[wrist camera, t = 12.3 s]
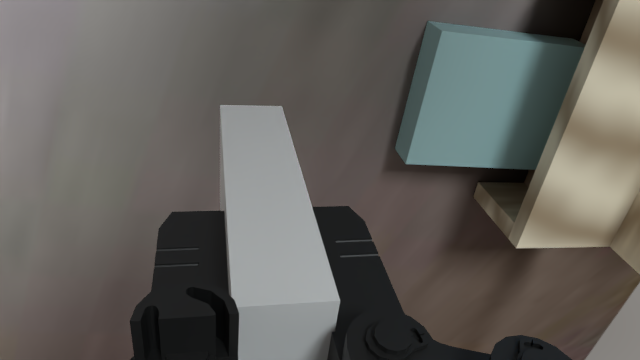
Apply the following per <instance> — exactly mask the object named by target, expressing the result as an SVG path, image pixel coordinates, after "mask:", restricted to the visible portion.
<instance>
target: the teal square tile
mask: <svg viewBox="0 0 640 360" xmlns="http://www.w3.org/2000/svg"><path fill="white" fill-rule="evenodd" d="M585 46H586V45H585V44H583V43H581V42H579V41H577V40H575V39H572V38H563V37H555V36H547V35H539V34H530V33H522V32H514V31H506V30H497V29H489V28H481V27H473V26H464V25H456V24H448V23H440V22H431V21H428V22H427V25H426V29H425V33H424V37H423V41H422V45H421V49H420V53H419V57H418V60H417V64H416V68H415V72H414V76H413V80H412V84H411V88H410V92H409V95H408V99H407V103H406V107H405V111H404V115H403V119H402V123H401V127H400V130H399V134H398V138H397V142H396V146H395V149H396V151H397V152H398V154H399V155H400V157H401V158H402V160H403V161H404V162H405V164H414V165H437V166H459V167H482V168H505V169H528V170H536V168H537V165H538V163H539V160H540V158H541V155H542V153H543V150H544V148H545V145H546V143H547V140H548V138H549V135H550V133H551V130H552V128H553V125H554V123H555V120H556V118H557V115H558V113H559V110H560V108H561V105H562V103H563V100H564V98H565V95H566V93H567V90H568V88H569V85H570V83H571V81H572V78H573V76H574V73H575V71H576V68H577V66H578V63H579V61H580V58H581V56H582V53H583V51H584V48H585Z"/></svg>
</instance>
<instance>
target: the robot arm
mask: <svg viewBox="0 0 640 360" xmlns="http://www.w3.org/2000/svg"><path fill="white" fill-rule="evenodd" d="M130 326H131V334H132V342H133V349H134V356H133V357H132V358H131V360H572V359H570V358H569V357H568V356H567V355H565V354H564V353H563V352H562V351H560V350H559V349H558V348H556V347H555V346H553V345H551V344H549V343H547V342H544V341H542V340H540V339H538V338H533V337H528V336H523V335H518V336H510V337H505V338H504V339H502V340H501V341H499V342H498V343H496V344H495V346H494V349H493V351H492V353H491V354H486V353H481V352H476V351H471V350H466V349H461V348H456V347H452V346H448V345H445V344H441V343H439V342H437V341H435V340H433V339H432V337H431V336H430V335H429V333H428V332H427V330H426V329H425V327H424V326H422V325H421V324H420V323H418V322H417V321H416V320H414V319H413V318H411V317H410V316H407V315H405V314H404V312H403V310H402V308H401V305H400V303H399V301H398V298H397V296H396V294H395V291H394V289H393V287H392V284H391V282H390V280H389V277H388V275H387V273H386V270H385V268H384V266H383V263H382V261H381V259H380V256H379V257H378V252H377V249H376V247H375V245H374V242H372V238H371V235H370V233H369V231H368V228H367V226H366V224H365V221H364V220H363V219H362V218H361V217H359V216H358V215H357V214H356V213H355V212H354V211H353V210H352V209H351V208H350V207H349V206H336V207H312V205H311V201H310V198H309V195H308V191H307V188H306V185H305V181H304V178H303V175H302V171H301V168H300V165H299V161H298V158H297V155H296V151H295V148H294V145H293V141H292V138H291V135H290V131H289V128H288V125H287V121H286V118H285V115H284V111H283V108H282V106H249V105H220V211H193V212H172V213H171V214H170V215H169V217H168V218H167V219H166V220H165V222H164V223H163V224H162V226H161V227H160V228H159V232H158V240H157V252H156V257H155V269H154V274H153V282H152V290H151V292H150V293H149V294H148V295H147V296H146V297H145V298H144V299H143V300H142V301H141V302H140V303H139V304H138V305H137V306H136V308H135V310H134V313H133V315H132V317H131V320H130Z"/></svg>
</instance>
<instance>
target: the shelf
mask: <svg viewBox="0 0 640 360" xmlns="http://www.w3.org/2000/svg"><path fill="white" fill-rule="evenodd" d="M580 42H581V43H583V44H585V45H586V46H585V48H584V51H583V53H582V56H581V58H580V61H579V63H578V66H577V68H576V71H575V73H574V76H573V78H572V81H571V83H570V85H569V88H568V90H567V93H566V95H565V98H564V100H563V103H562V105H561V108H560V110H559V113H558V115H557V118H556V120H555V123H554V125H553V128H552V130H551V133H550V135H549V138H548V140H547V143H546V145H545V148H544V150H543V153H542V155H541V158H540V160H539V163H538V165H537V168H536V170H529V171H528V174H527V176H526V179H525V181H524V183H497V182H478V184H477V187H476V190H475V193H474V196H473V197H474V198H475V200H476V201H477V202H478V203H479V204H480V206H481V207H482V208H483V209H484V210H485V212H486V213H487V214H488V215H489V216H490V218H491V219H492V220H493V221H494V222H495V224H496V225H497V226H498V227H499V228H500V230H501V231H502V232H503V233H504V234H505V236H506V237H507V238H508V239H509V240H510V242H511V243H512V244H513V245H514V246H515V248H562V247H611V248H612V249H613V250H614V251H615V252H616V253H617V254H618V255H619V256H620V257H621V258H622V259H624V260H625V261H626V262H627V263H628V264H629V265H630V266H631V267H632V268H633V269H634V270H635V271H637V272H638V273H639V274H640V0H596V1H595V3H594V6H593V8H592V11H591V14H590V16H589V19H588V21H587V24H586V26H585V29H584V31H583V34H582V36H581V39H580Z"/></svg>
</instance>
